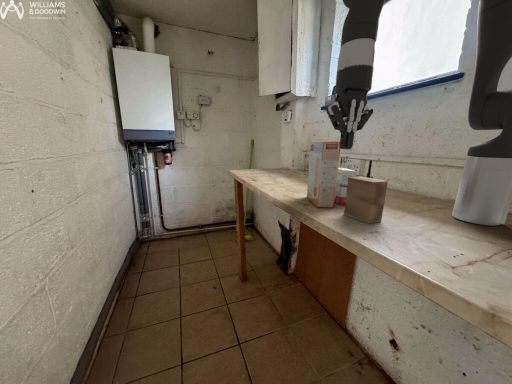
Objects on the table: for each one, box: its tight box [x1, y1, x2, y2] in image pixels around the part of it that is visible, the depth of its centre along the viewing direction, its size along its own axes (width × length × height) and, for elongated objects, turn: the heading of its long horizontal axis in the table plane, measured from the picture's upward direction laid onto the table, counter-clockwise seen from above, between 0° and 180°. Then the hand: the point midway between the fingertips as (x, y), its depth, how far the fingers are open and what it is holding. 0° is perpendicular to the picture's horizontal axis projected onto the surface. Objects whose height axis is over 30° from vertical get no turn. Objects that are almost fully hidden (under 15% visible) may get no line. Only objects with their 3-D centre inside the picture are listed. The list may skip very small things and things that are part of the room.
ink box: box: [334, 167, 357, 205], centre depth 72 cm, size 9×5×12 cm, turn 179°
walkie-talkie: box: [362, 159, 375, 179], centre depth 70 cm, size 5×3×15 cm
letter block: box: [343, 176, 389, 225], centre depth 56 cm, size 5×8×11 cm, turn 23°
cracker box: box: [306, 140, 341, 209], centre depth 70 cm, size 14×6×21 cm, turn 179°
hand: (345, 148), depth 49 cm, fingers closed
